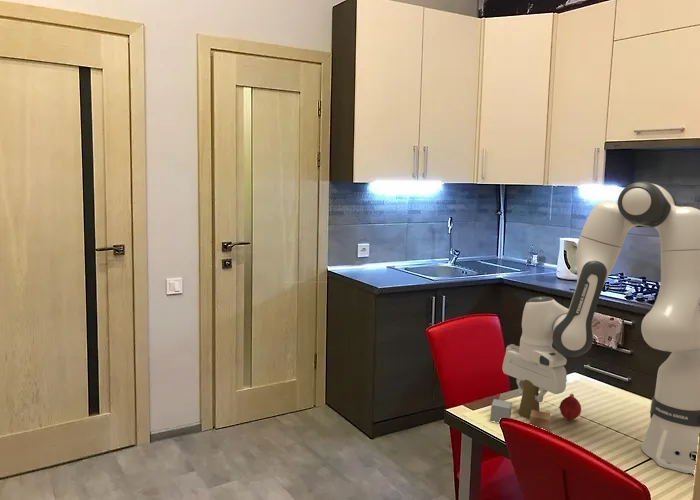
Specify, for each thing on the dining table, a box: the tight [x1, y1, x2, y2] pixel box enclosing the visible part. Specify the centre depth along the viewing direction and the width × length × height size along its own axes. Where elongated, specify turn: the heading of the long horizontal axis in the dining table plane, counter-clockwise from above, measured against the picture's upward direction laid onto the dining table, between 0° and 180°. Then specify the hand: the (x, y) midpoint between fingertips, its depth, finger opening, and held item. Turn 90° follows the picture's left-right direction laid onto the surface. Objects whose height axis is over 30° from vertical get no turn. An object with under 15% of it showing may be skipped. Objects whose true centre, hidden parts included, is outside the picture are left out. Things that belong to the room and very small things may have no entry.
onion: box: [559, 393, 582, 422], centre depth 171 cm, size 6×6×8 cm
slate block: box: [489, 398, 513, 422], centre depth 169 cm, size 5×5×5 cm
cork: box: [517, 380, 540, 420], centre depth 173 cm, size 6×6×11 cm
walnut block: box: [529, 410, 551, 431], centre depth 162 cm, size 5×5×5 cm
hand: (530, 397), depth 173 cm, fingers closed on cork, 4 cm apart
